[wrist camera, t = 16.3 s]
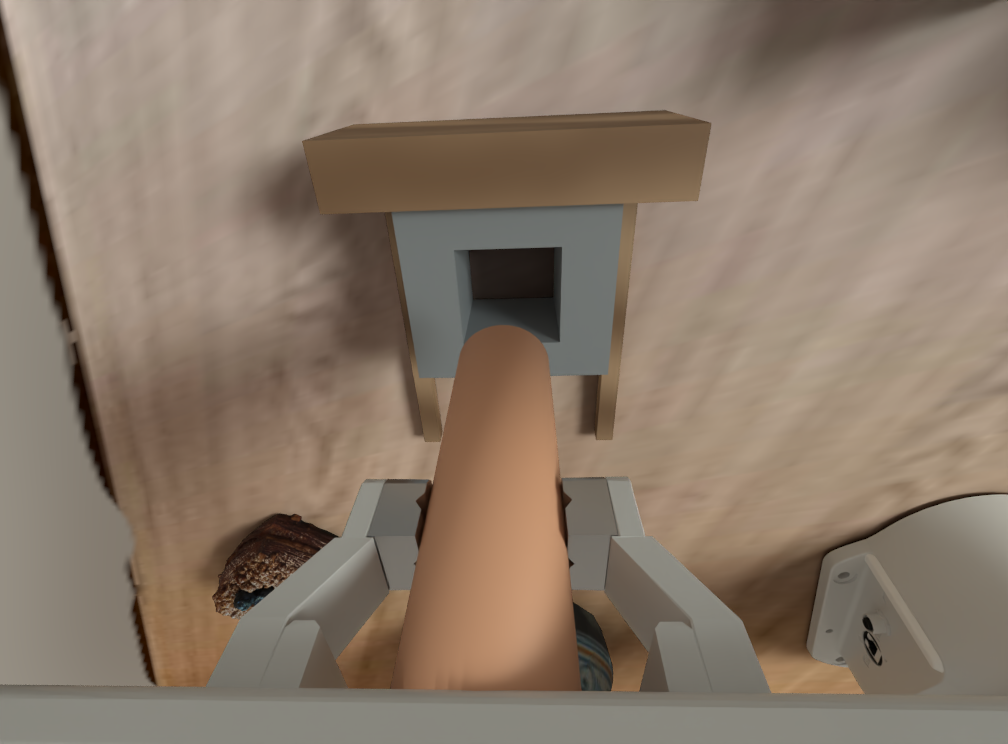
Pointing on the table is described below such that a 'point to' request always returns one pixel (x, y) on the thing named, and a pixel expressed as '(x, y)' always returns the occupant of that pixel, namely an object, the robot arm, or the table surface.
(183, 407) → the table surface
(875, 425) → the table surface
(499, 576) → the dowel
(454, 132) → the rail frame
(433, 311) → the block
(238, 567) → the pastry
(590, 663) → the beer stein
